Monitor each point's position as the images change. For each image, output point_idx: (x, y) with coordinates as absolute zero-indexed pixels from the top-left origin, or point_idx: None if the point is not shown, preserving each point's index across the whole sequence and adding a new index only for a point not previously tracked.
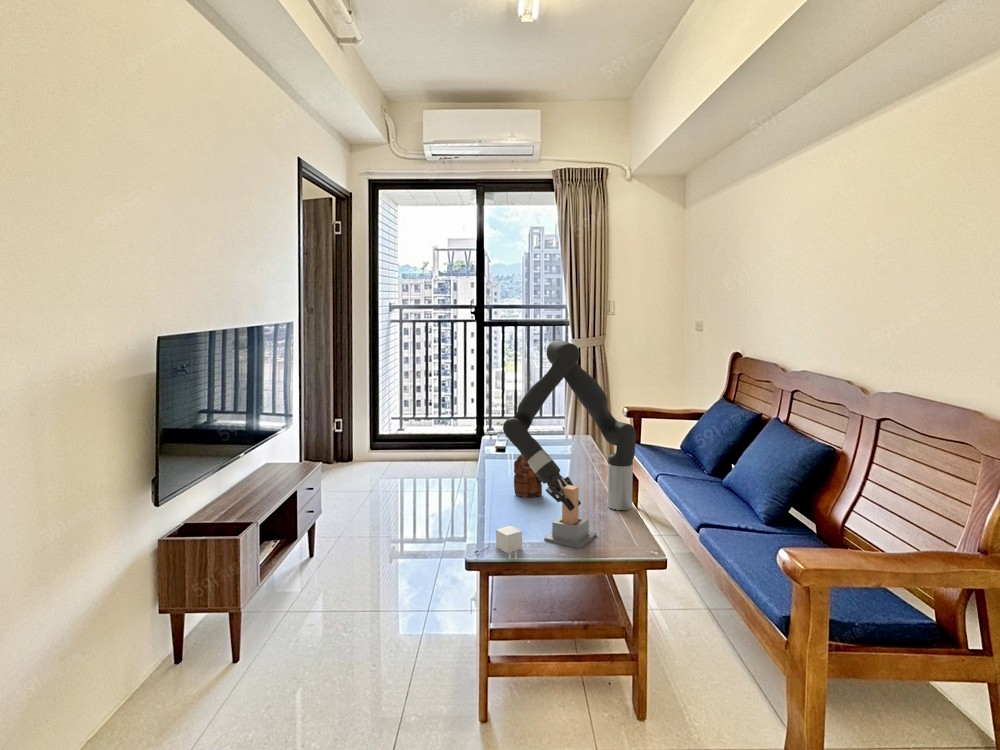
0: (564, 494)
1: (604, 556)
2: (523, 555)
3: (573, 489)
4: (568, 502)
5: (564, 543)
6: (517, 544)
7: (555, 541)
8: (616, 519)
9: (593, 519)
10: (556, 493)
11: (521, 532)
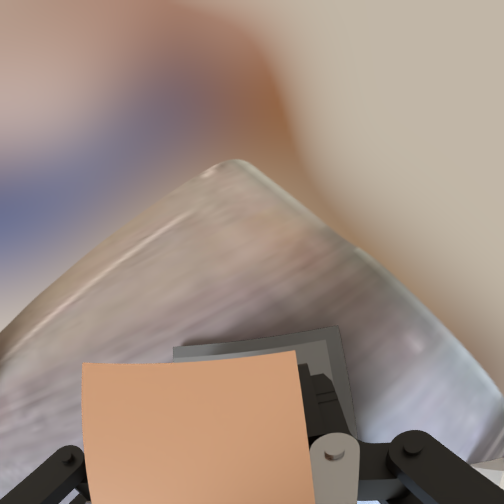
0: (342, 478)
1: (327, 236)
2: (494, 418)
3: (281, 356)
4: (331, 409)
5: (350, 395)
6: (490, 464)
7: (355, 435)
8: (34, 350)
9: (56, 417)
10: (481, 483)
11: (502, 470)
